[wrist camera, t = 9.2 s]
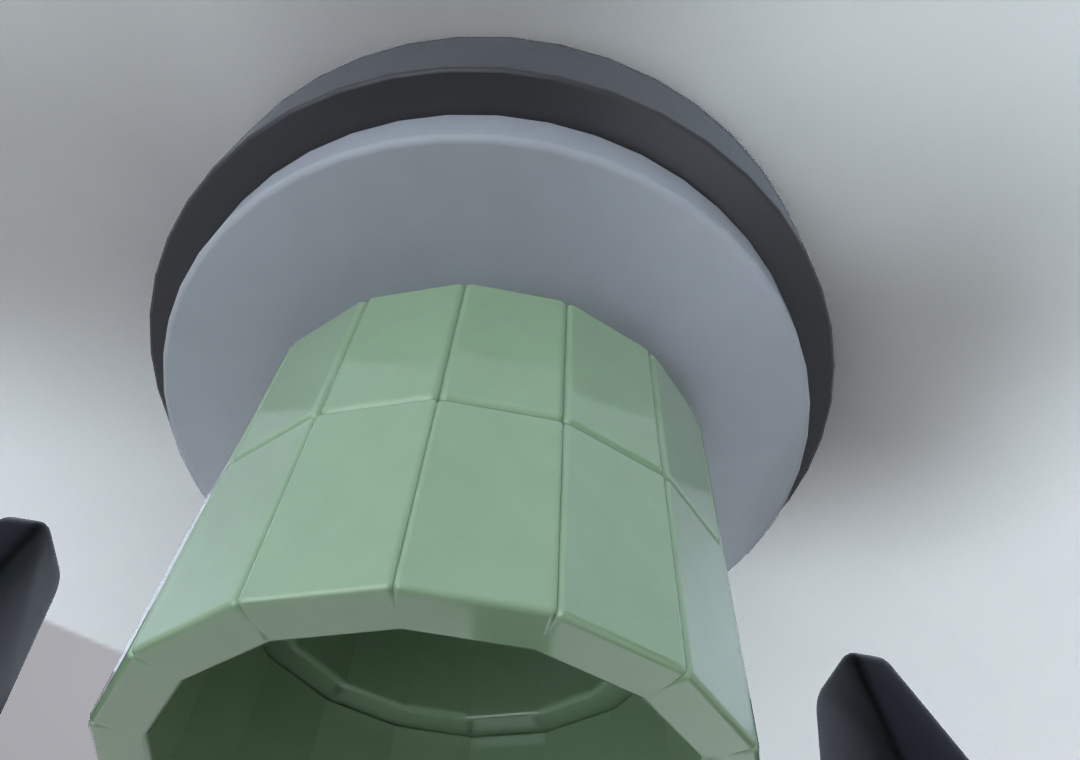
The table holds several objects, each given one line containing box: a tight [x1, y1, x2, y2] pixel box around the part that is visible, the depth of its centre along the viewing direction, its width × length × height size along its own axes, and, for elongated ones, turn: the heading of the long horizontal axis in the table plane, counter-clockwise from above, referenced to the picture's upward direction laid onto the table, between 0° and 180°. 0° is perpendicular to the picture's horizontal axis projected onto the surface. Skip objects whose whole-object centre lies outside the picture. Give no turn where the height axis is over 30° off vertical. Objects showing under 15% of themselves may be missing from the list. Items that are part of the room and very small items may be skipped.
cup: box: [89, 284, 760, 760], centre depth 9 cm, size 6×6×5 cm
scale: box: [150, 37, 834, 572], centre depth 12 cm, size 10×10×2 cm
